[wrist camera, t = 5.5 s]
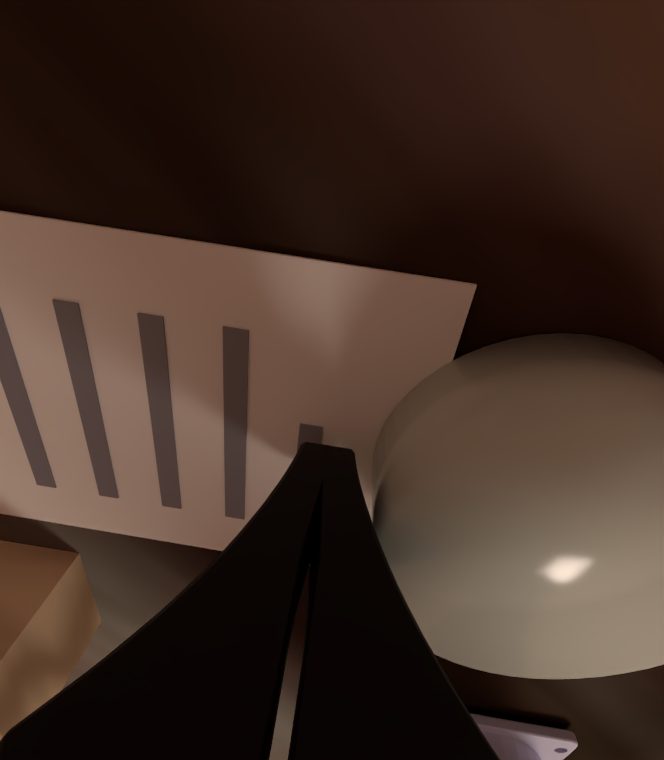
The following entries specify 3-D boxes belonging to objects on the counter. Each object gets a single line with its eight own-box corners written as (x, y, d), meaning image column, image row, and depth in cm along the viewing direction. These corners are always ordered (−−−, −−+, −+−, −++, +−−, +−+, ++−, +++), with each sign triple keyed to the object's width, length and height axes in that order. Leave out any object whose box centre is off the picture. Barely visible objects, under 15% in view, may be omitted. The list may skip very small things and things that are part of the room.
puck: (609, 583, 12) (673, 697, 10) (355, 551, 13) (351, 655, 10) (778, 356, 8) (961, 448, 6) (399, 313, 9) (412, 384, 6)
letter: (383, 575, 13) (383, 579, 13) (-24, 506, 14) (-28, 510, 13) (475, 284, 8) (477, 286, 8) (-178, 183, 8) (-187, 183, 8)
